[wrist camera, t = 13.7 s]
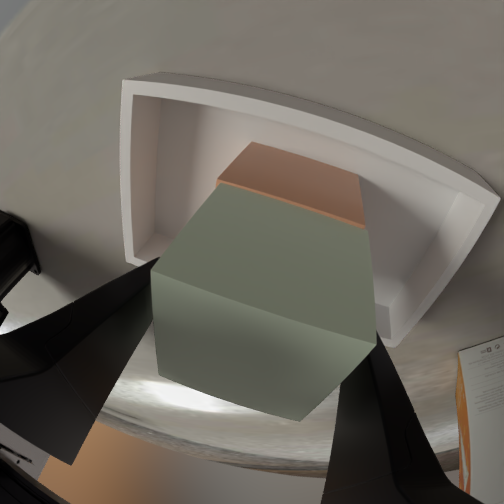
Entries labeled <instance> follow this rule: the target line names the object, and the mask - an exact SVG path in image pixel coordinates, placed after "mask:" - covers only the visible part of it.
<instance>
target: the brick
mask: <svg viewBox="0 0 504 504" xmlns="http://www.w3.org/2000/svg"><path fill="white" fill-rule="evenodd" d="M220 183H224V184H228V185H231V186H235V187H238V188H241V189H245V190H248V191H251V192H254V193H258V194H261V195H264V196H267V197H270V198H274V199H277V200H280V201H283V202H286V203H289V204H292V205H295V206H298V207H301V208H304V209H307V210H310V211H313V212H316V213H319V214H322V215H325V216H328V217H331V218H334V219H336V220H339V221H342V222H345V223H348V224H350V225H353V226H356V227H359V228H361V229H364V228H365V226H366V225H365V218H364V210H363V203H362V196H361V190H360V184H359V178H358V175H357V174H355V173H352V172H349V171H346V170H343V169H341V168H338V167H335V166H332V165H329V164H326V163H323V162H320V161H317V160H314V159H310V158H307V157H304V156H301V155H298V154H294V153H291V152H288V151H284V150H281V149H277V148H274V147H270V146H267V145H263V144H259V143H256V142H252V141H251V143H250V144H249V145H248V146H247V147H246V148H245V149H244V150H243V151H242V152H241V153H240V154H239V155H238V156H237V157H236V158H235V159H234V161H233V162H232V163H231V164H230V165H229V166H228V167H227V168H226V169H225V170H224V171H223V173H222V174H221V175H220V176H219V177H218V178H217V180H216V187H217V186H218V185H219V184H220ZM216 187H215V188H216Z"/></svg>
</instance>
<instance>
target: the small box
mask: <svg viewBox="0 0 504 504" xmlns="http://www.w3.org/2000/svg"><path fill="white" fill-rule="evenodd" d="M456 405H457V415H458V429H459V457H460V467H459V488H460V489H461V490H463V491H464V492H466V493H468V494H469V495H471V496H473V497H474V498H476V499H478V500H479V501H481V502H483V503H484V504H504V337H501V338H498V339H495V340H492V341H489V342H486V343H483V344H480V345H477V346H474V347H471V348H468V349H465V350H462V351H459V352H458V376H457V386H456Z"/></svg>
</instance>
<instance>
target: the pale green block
mask: <svg viewBox="0 0 504 504" xmlns="http://www.w3.org/2000/svg"><path fill="white" fill-rule="evenodd" d="M151 292H152V309H153V323H154V335H155V345H156V355H157V364H158V373H159V375H160V376H162V377H165V378H167V379H169V380H172V381H174V382H177V383H179V384H182V385H184V386H187V387H189V388H192V389H195V390H197V391H200V392H203V393H205V394H208V395H211V396H214V397H217V398H220V399H223V400H226V401H229V402H232V403H235V404H238V405H241V406H244V407H247V408H251V409H254V410H257V411H261V412H264V413H268V414H271V415H275V416H279V417H283V418H287V419H290V420H295V421H299V422H300V421H301V420H302V419H304V418H305V417H306V416H307V415H308V414H309V413H310V412H311V411H312V410H313V409H315V408H316V407H317V406H318V405H319V404H320V403H321V402H322V401H323V400H324V399H325V398H326V397H327V396H328V395H329V394H330V393H331V392H332V391H333V390H334V389H335V388H336V387H337V386H338V385H339V384H340V383H341V382H342V381H343V380H344V379H345V378H346V377H347V376H348V375H349V374H350V373H351V372H352V371H353V370H354V369H355V368H356V367H357V366H358V365H359V364H360V362H361V361H362V360H363V359H364V358H365V357H366V356H367V355H368V354H369V353H370V351H371V350H372V349H373V348H374V347H375V346H376V345H377V339H376V314H375V297H374V283H373V272H372V261H371V252H370V243H369V235H368V231H367V230H364V229H361V228H359V227H356V226H353V225H350V224H348V223H345V222H342V221H339V220H336V219H334V218H331V217H328V216H325V215H322V214H319V213H316V212H313V211H310V210H307V209H304V208H301V207H298V206H295V205H292V204H289V203H286V202H283V201H280V200H277V199H274V198H270V197H267V196H264V195H261V194H258V193H254V192H251V191H248V190H245V189H241V188H238V187H235V186H231V185H228V184H224V183H220V184H219V185H218V186H217V187H216V188H215V190H214V191H213V192H212V193H211V194H210V196H209V197H208V198H207V199H206V200H205V202H204V203H203V204H202V205H201V206H200V208H199V209H198V210H197V211H196V213H195V214H194V215H193V216H192V218H191V219H190V220H189V221H188V223H187V224H186V225H185V226H184V228H183V229H182V230H181V231H180V233H179V234H178V235H177V236H176V238H175V239H174V240H173V241H172V243H171V244H170V245H169V247H168V248H167V249H166V250H165V252H164V253H163V254H162V256H161V257H160V258H159V260H158V261H157V262H156V264H155V265H154V266H153V268H152V269H151Z"/></svg>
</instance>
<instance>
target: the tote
mask: <svg viewBox="0 0 504 504" xmlns="http://www.w3.org/2000/svg"><path fill="white" fill-rule="evenodd" d="M251 141H252V142H256V143H259V144H263V145H267V146H270V147H274V148H277V149H281V150H284V151H288V152H291V153H294V154H298V155H301V156H304V157H307V158H310V159H314V160H317V161H320V162H323V163H326V164H329V165H332V166H335V167H338V168H341V169H343V170H346V171H349V172H352V173H355V174H357V175H358V178H359V184H360V190H361V196H362V203H363V210H364V218H365V225H366V226H365V228H364V230H367V231H368V235H369V243H370V252H371V261H372V272H373V283H374V297H375V314H376V330H377V332H378V334H379V336H380V338H381V340H382V342H383V344H384V346H388V347H392V348H396V346H397V345H398V344H399V343H400V342H401V341H402V340H403V339H404V338H405V336H406V335H407V334H408V333H409V332H410V331H411V329H412V328H413V327H414V326H415V325H416V324H417V322H418V321H419V320H420V319H421V318H422V316H423V315H424V314H425V313H426V311H427V310H428V309H429V308H430V306H431V305H432V304H433V303H434V301H435V300H436V299H437V297H438V296H439V295H440V293H441V292H442V291H443V289H444V288H445V287H446V285H447V284H448V283H449V281H450V280H451V278H452V277H453V276H454V274H455V273H456V271H457V270H458V269H459V267H460V266H461V264H462V263H463V261H464V260H465V258H466V257H467V255H468V254H469V252H470V251H471V249H472V247H473V246H474V244H475V243H476V241H477V240H478V238H479V236H480V235H481V233H482V231H483V230H484V228H485V226H486V225H487V223H488V221H489V219H490V218H491V216H492V214H493V212H494V210H495V209H496V207H497V205H498V203H499V201H500V199H501V198H500V197H499V196H498V195H497V193H496V192H495V191H494V190H493V189H492V188H491V187H490V186H489V185H488V184H487V183H486V182H485V181H484V179H483V178H482V177H481V176H480V175H479V174H478V173H477V172H476V171H474V170H473V169H471V168H469V167H467V166H466V165H464V164H462V163H460V162H458V161H456V160H455V159H453V158H451V157H449V156H447V155H445V154H443V153H441V152H439V151H437V150H435V149H433V148H431V147H429V146H427V145H425V144H423V143H420V142H418V141H416V140H414V139H412V138H409V137H407V136H405V135H403V134H400V133H398V132H396V131H393V130H391V129H388V128H386V127H383V126H381V125H378V124H376V123H373V122H371V121H368V120H365V119H363V118H360V117H357V116H355V115H352V114H349V113H346V112H343V111H340V110H337V109H334V108H331V107H328V106H325V105H322V104H318V103H315V102H312V101H308V100H305V99H301V98H298V97H294V96H290V95H286V94H283V93H279V92H275V91H270V90H266V89H262V88H257V87H253V86H248V85H243V84H238V83H233V82H228V81H222V80H216V79H210V78H203V77H197V76H189V75H181V74H172V73H163V72H157V73H152V74H147V75H142V76H137V77H133V78H128V79H124V80H123V82H122V96H121V116H120V188H121V209H122V224H123V236H124V247H125V257H126V262H128V263H131V264H133V265H136V266H141V265H143V264H145V263H147V262H149V261H151V260H153V259H155V258H157V257H161V256H162V254H163V253H164V252H165V250H166V249H167V248H168V247H169V245H170V244H171V243H172V241H173V240H174V239H175V238H176V236H177V235H178V234H179V233H180V231H181V230H182V229H183V228H184V226H185V225H186V224H187V223H188V221H189V220H190V219H191V218H192V216H193V215H194V214H195V213H196V211H197V210H198V209H199V208H200V206H201V205H202V204H203V203H204V202H205V200H206V199H207V198H208V197H209V196H210V194H211V193H212V192H213V191H214V190H215V187H216V180H217V178H218V177H219V176H220V175H221V174H222V173H223V171H224V170H225V169H226V168H227V167H228V166H229V165H230V164H231V163H232V162H233V161H234V159H235V158H236V157H237V156H238V155H239V154H240V153H241V152H242V151H243V150H244V149H245V148H246V147H247V146H248V145H249V144H250V143H251Z"/></svg>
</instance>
